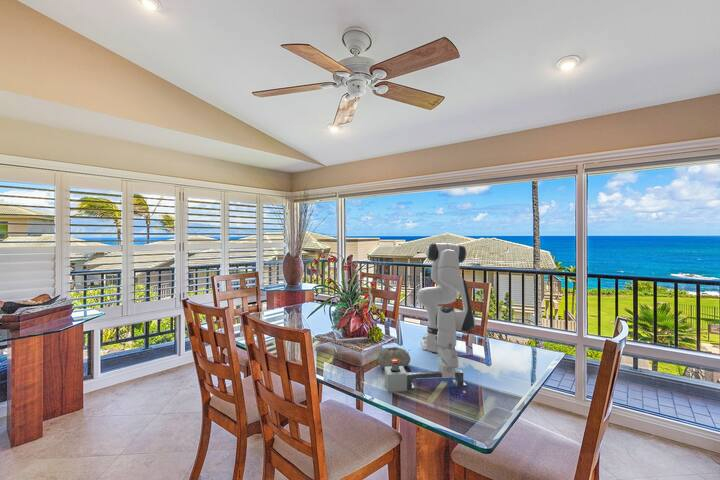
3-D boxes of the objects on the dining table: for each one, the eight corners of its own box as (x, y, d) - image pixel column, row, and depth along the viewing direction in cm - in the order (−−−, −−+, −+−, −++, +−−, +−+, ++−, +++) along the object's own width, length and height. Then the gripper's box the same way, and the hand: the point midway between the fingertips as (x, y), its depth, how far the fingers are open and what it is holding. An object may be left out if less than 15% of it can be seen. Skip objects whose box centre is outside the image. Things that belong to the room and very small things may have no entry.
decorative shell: (382, 358, 188) (382, 341, 188) (413, 362, 182) (413, 344, 182) (373, 371, 171) (373, 352, 171) (406, 375, 165) (406, 356, 165)
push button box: (384, 383, 158) (384, 366, 157) (402, 382, 158) (402, 365, 158) (387, 392, 149) (387, 374, 148) (407, 391, 149) (406, 373, 149)
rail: (401, 383, 157) (401, 371, 157) (461, 380, 159) (461, 368, 159) (404, 389, 151) (404, 376, 151) (466, 386, 153) (466, 373, 153)
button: (390, 372, 155) (390, 358, 155) (398, 372, 156) (398, 358, 155) (391, 376, 151) (391, 362, 151) (400, 376, 151) (400, 361, 151)
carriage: (439, 373, 158) (439, 361, 157) (451, 372, 158) (451, 360, 158) (442, 378, 153) (442, 365, 152) (455, 377, 153) (454, 364, 153)
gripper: (461, 348, 145) (461, 378, 145) (445, 334, 165) (446, 361, 166) (447, 348, 144) (448, 379, 145) (433, 334, 165) (434, 361, 165)
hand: (446, 369), depth 155 cm, fingers closed on carriage, 5 cm apart
